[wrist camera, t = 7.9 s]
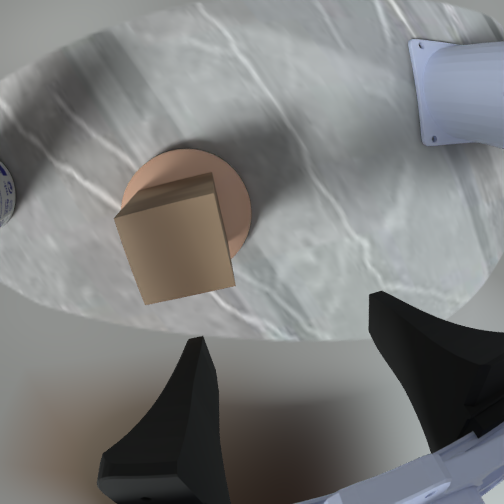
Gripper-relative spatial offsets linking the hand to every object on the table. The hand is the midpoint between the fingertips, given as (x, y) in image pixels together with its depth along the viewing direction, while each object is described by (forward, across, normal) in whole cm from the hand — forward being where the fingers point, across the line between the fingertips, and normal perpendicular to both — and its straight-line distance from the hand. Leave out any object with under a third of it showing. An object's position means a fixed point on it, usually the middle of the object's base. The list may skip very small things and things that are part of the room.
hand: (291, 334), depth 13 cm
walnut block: (+8, +4, -4) cm, 10 cm away
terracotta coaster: (+9, +4, -4) cm, 11 cm away
